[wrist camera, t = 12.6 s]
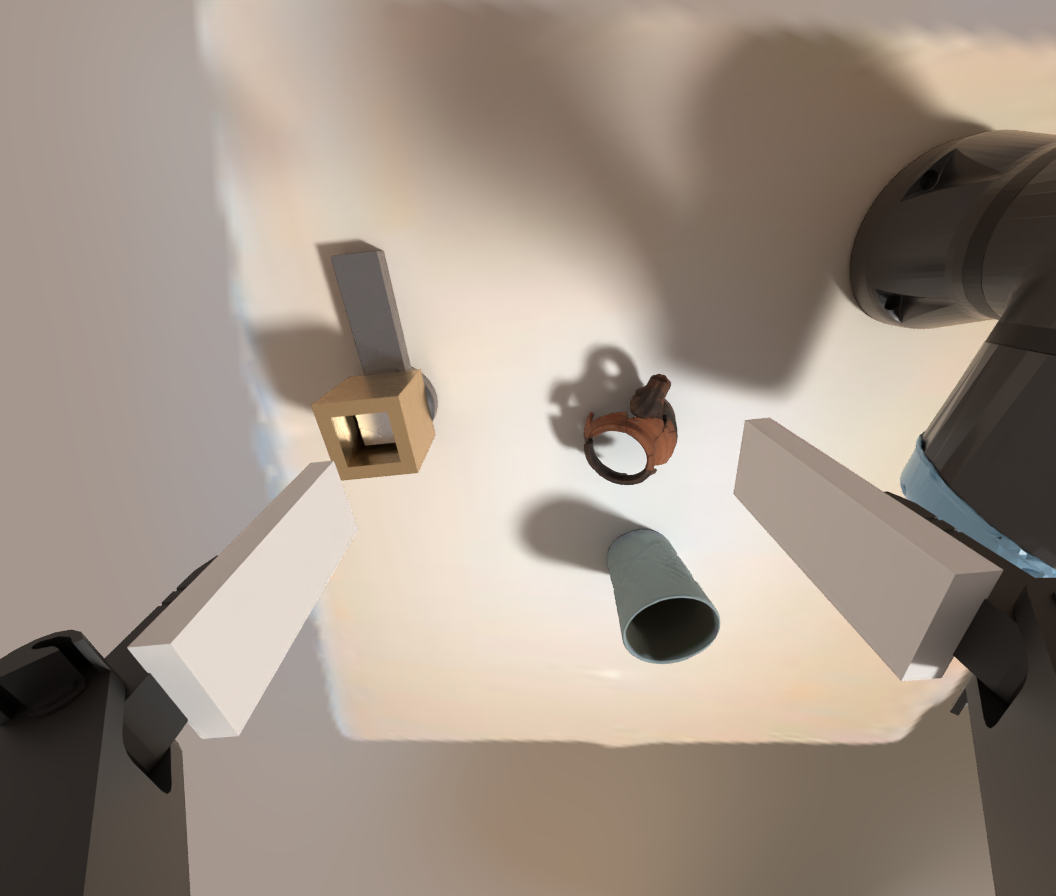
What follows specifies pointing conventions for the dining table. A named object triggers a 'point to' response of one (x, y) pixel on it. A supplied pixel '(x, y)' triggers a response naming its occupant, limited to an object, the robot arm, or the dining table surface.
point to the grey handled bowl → (375, 330)
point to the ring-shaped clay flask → (638, 430)
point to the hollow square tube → (375, 395)
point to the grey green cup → (659, 600)
